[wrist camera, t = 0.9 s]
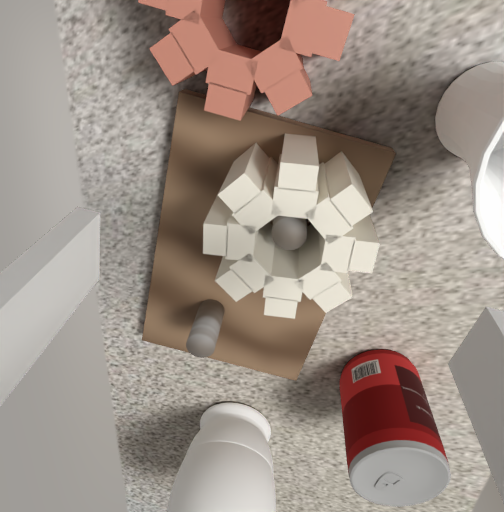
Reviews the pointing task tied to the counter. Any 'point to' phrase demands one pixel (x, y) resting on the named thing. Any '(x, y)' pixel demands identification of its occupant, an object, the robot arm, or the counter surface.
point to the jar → (227, 464)
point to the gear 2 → (291, 205)
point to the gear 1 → (247, 53)
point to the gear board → (206, 266)
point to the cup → (479, 142)
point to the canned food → (390, 431)
